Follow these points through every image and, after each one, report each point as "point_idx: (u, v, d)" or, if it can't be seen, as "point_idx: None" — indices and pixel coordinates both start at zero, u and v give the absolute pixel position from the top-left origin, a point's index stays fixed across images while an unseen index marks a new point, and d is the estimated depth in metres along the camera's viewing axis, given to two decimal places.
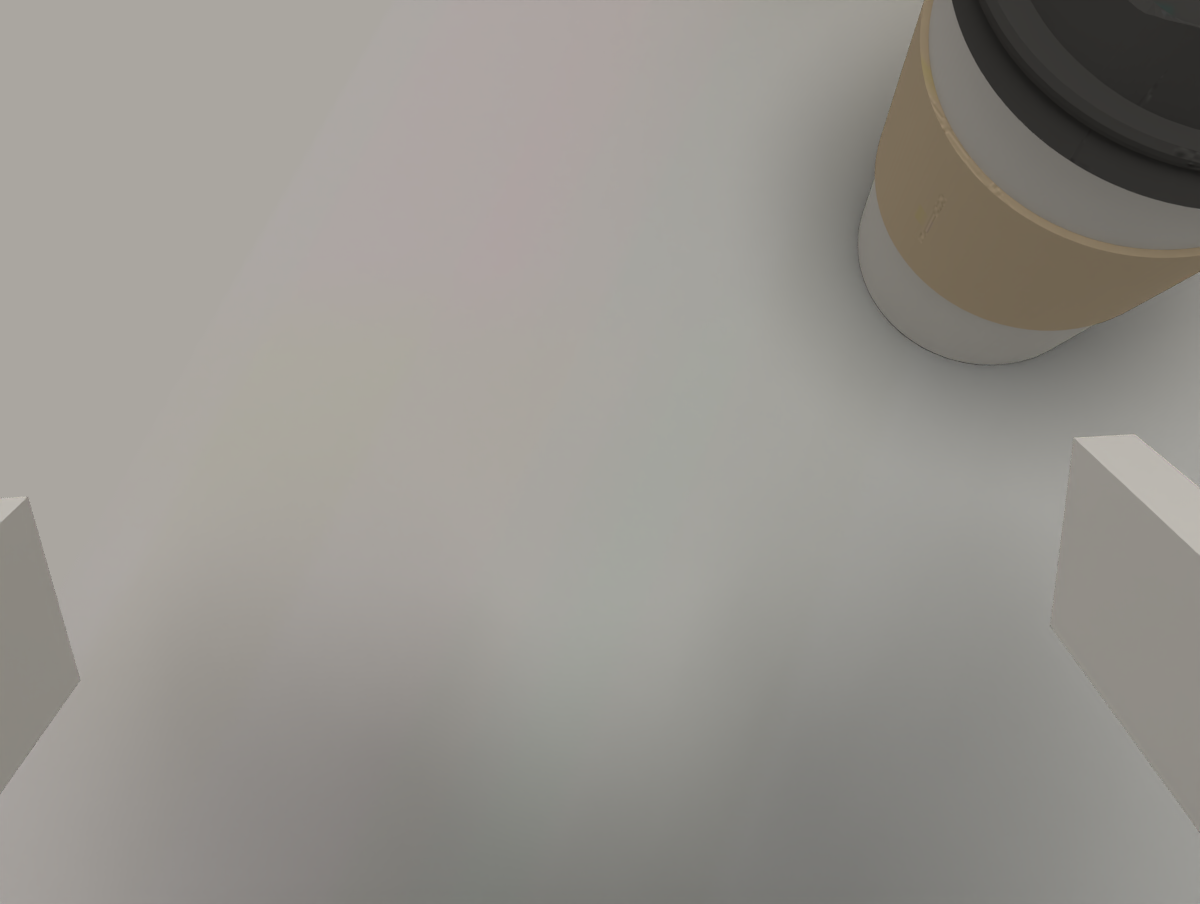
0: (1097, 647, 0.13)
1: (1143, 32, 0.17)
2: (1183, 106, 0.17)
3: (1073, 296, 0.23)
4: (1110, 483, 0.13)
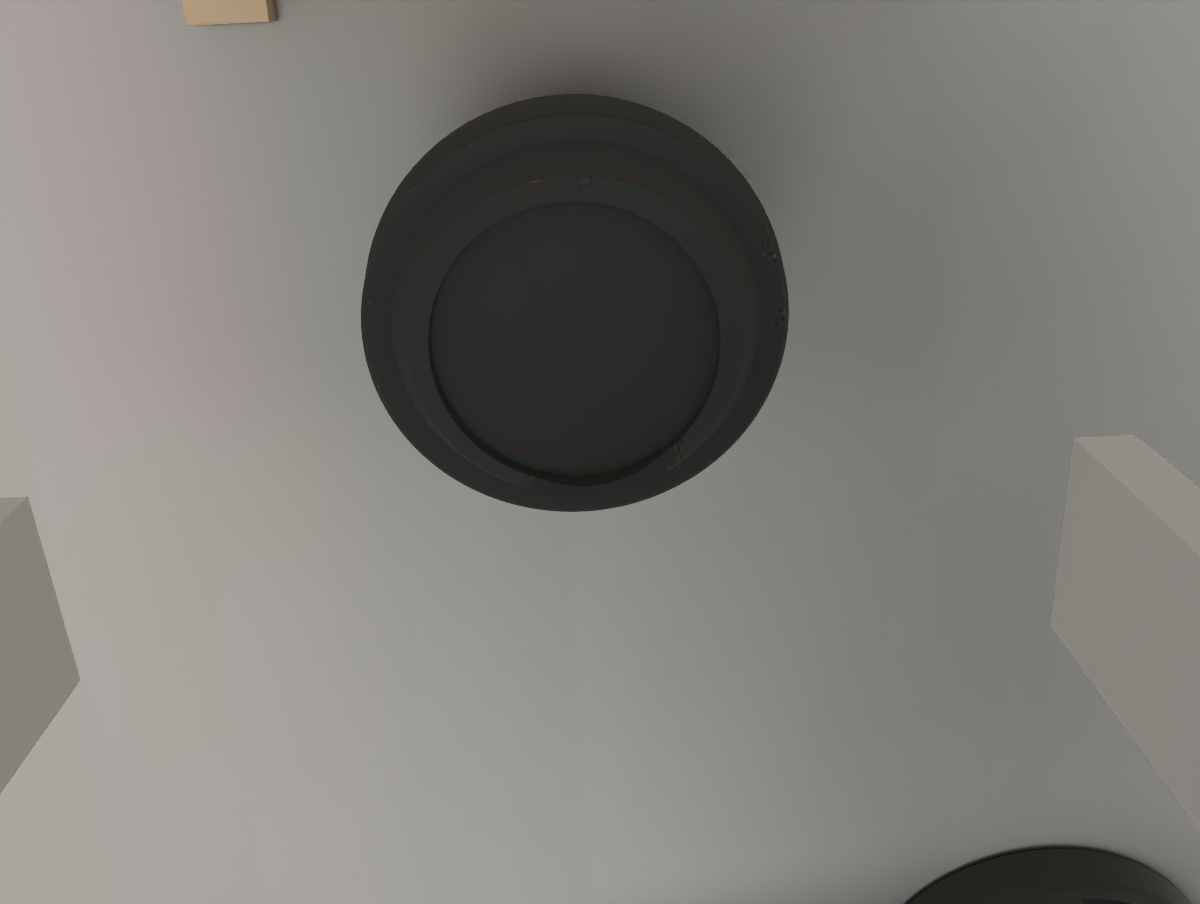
0: (1097, 648, 0.13)
1: None
2: None
3: None
4: (1110, 483, 0.13)
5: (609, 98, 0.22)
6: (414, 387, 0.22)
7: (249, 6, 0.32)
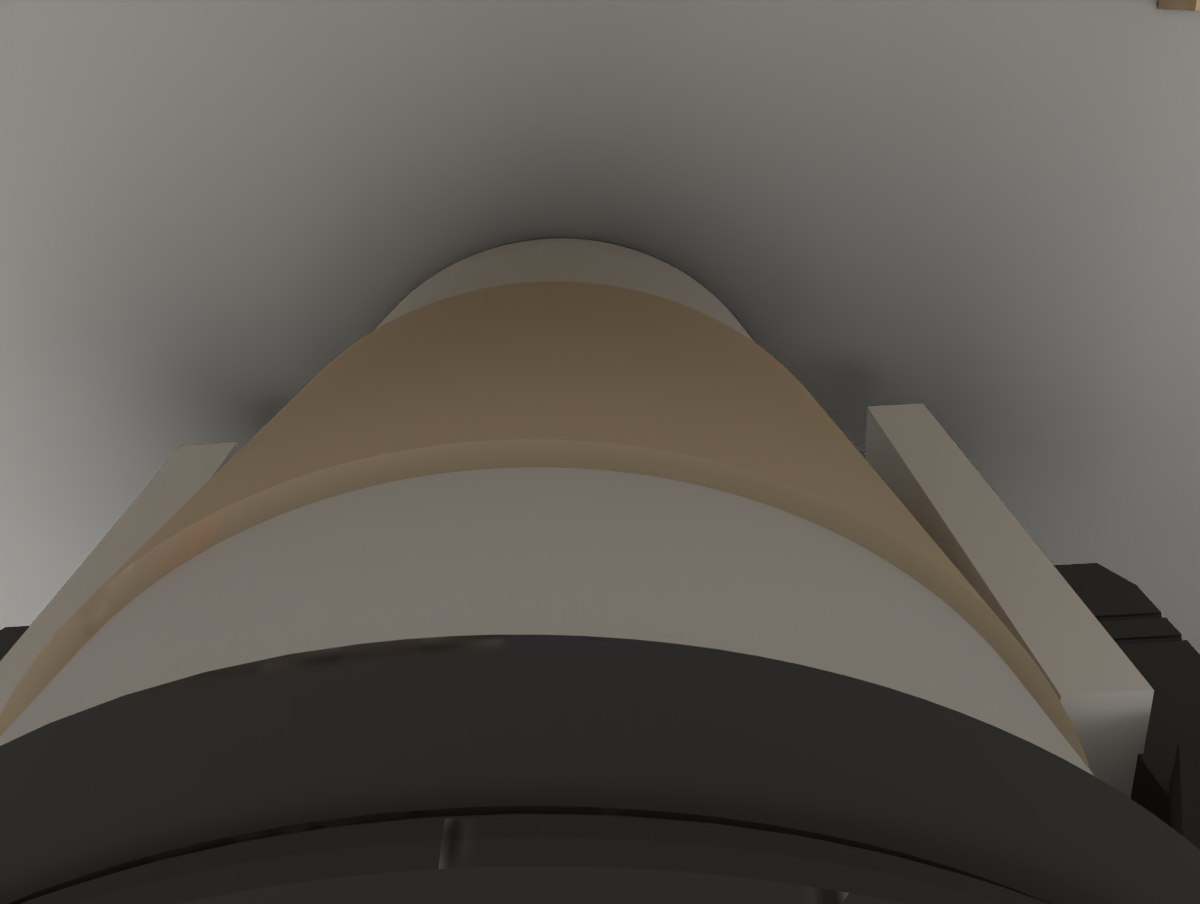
0: None
1: None
2: None
3: None
4: (887, 446, 0.14)
5: (678, 648, 0.04)
6: None
7: None
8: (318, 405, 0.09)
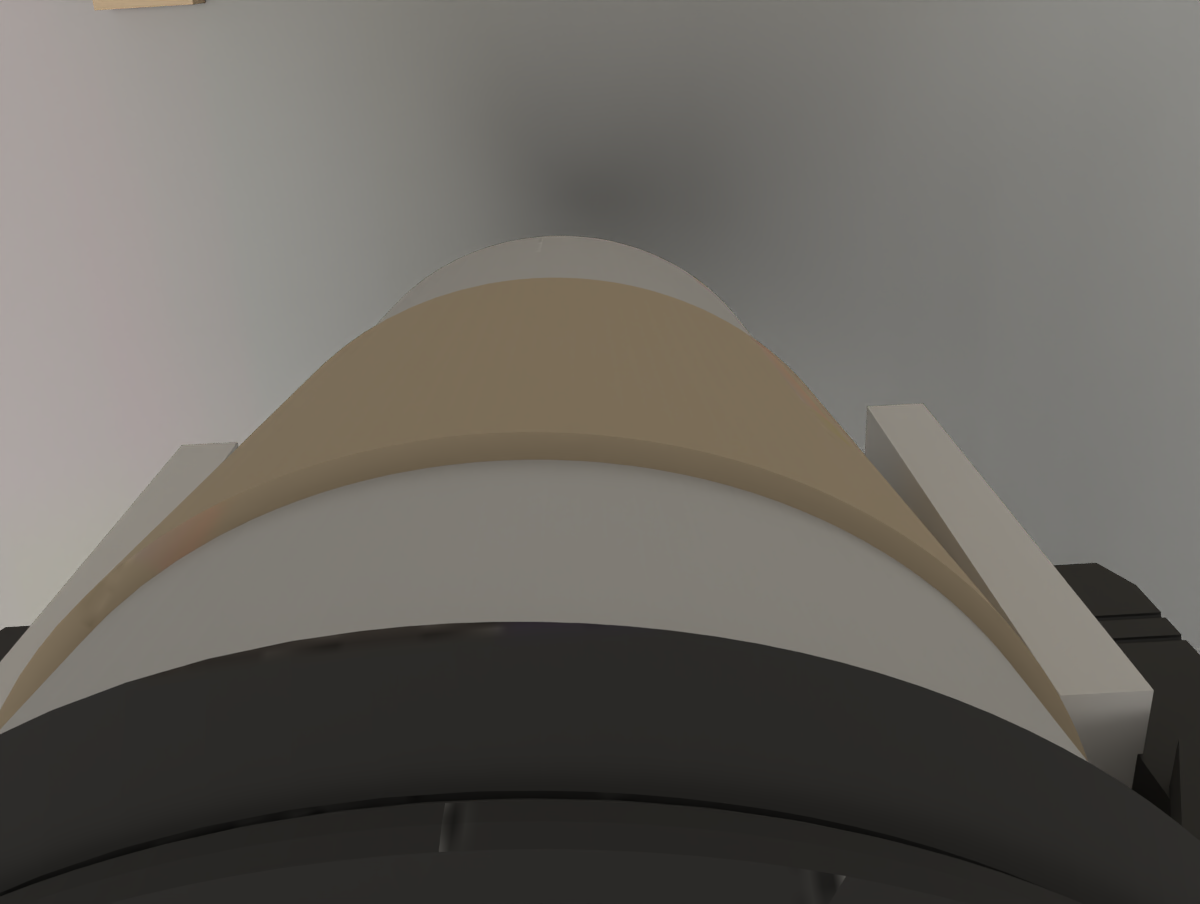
0: None
1: None
2: None
3: None
4: (887, 445, 0.14)
5: (677, 637, 0.04)
6: None
7: None
8: (318, 399, 0.09)
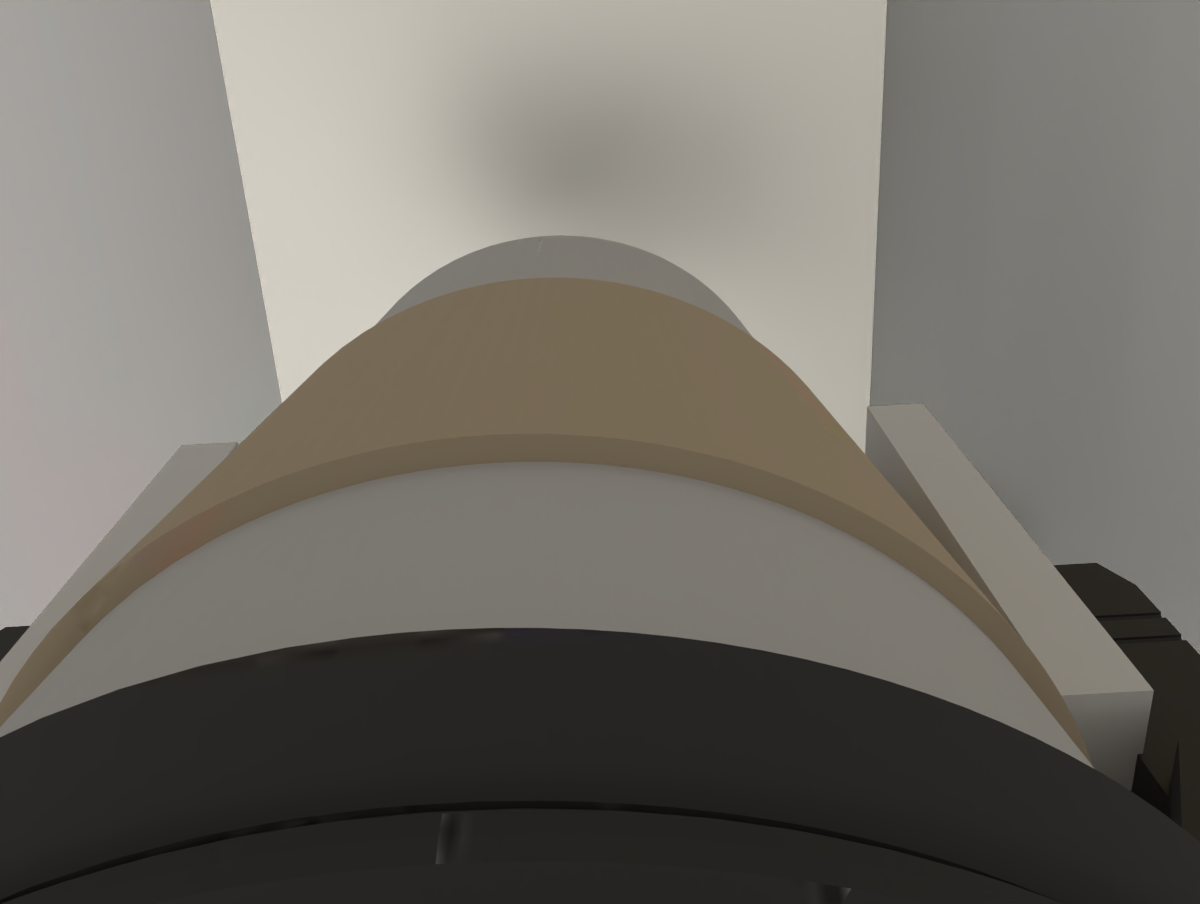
0: None
1: None
2: None
3: None
4: (887, 446, 0.14)
5: (678, 642, 0.04)
6: None
7: None
8: (316, 401, 0.09)
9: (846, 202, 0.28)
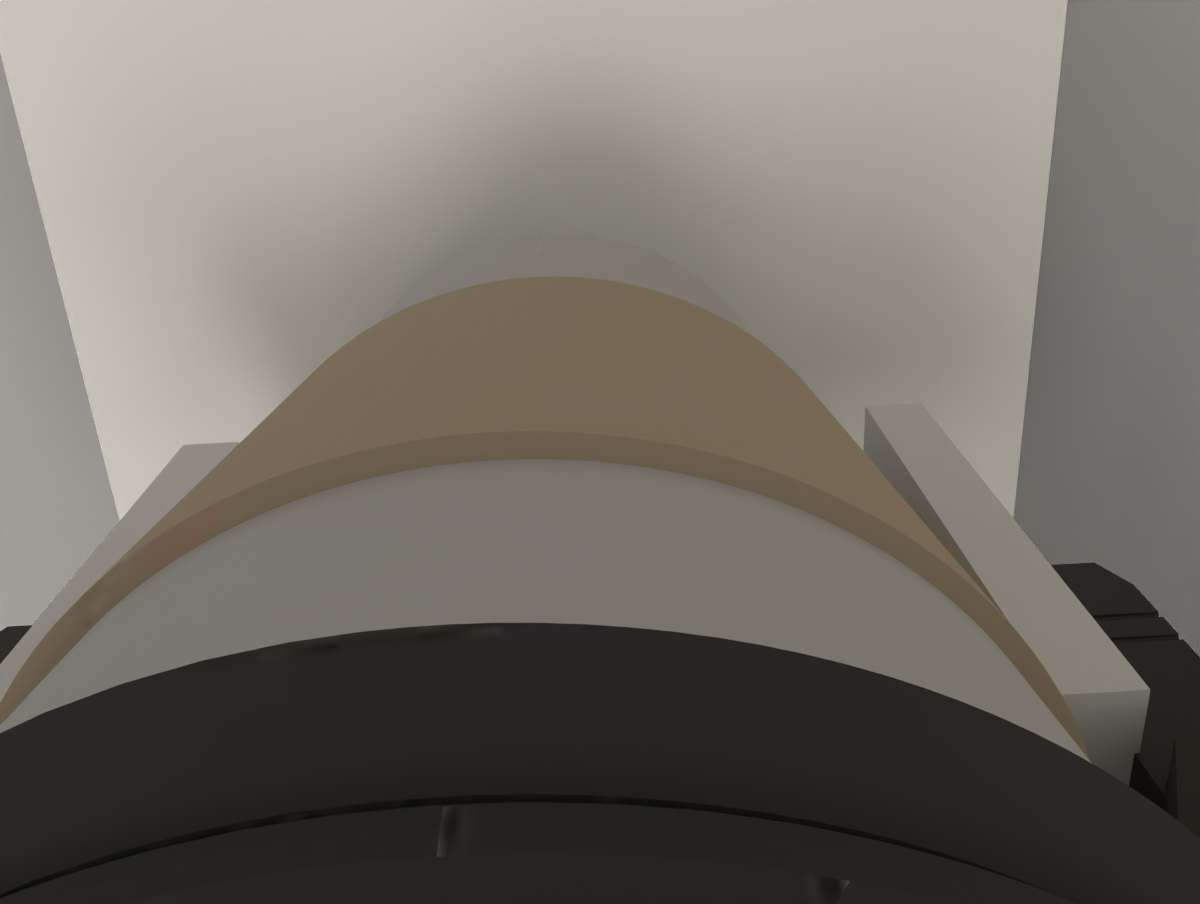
0: None
1: None
2: None
3: None
4: (885, 445, 0.14)
5: (678, 637, 0.04)
6: None
7: None
8: (317, 399, 0.09)
9: (986, 309, 0.18)
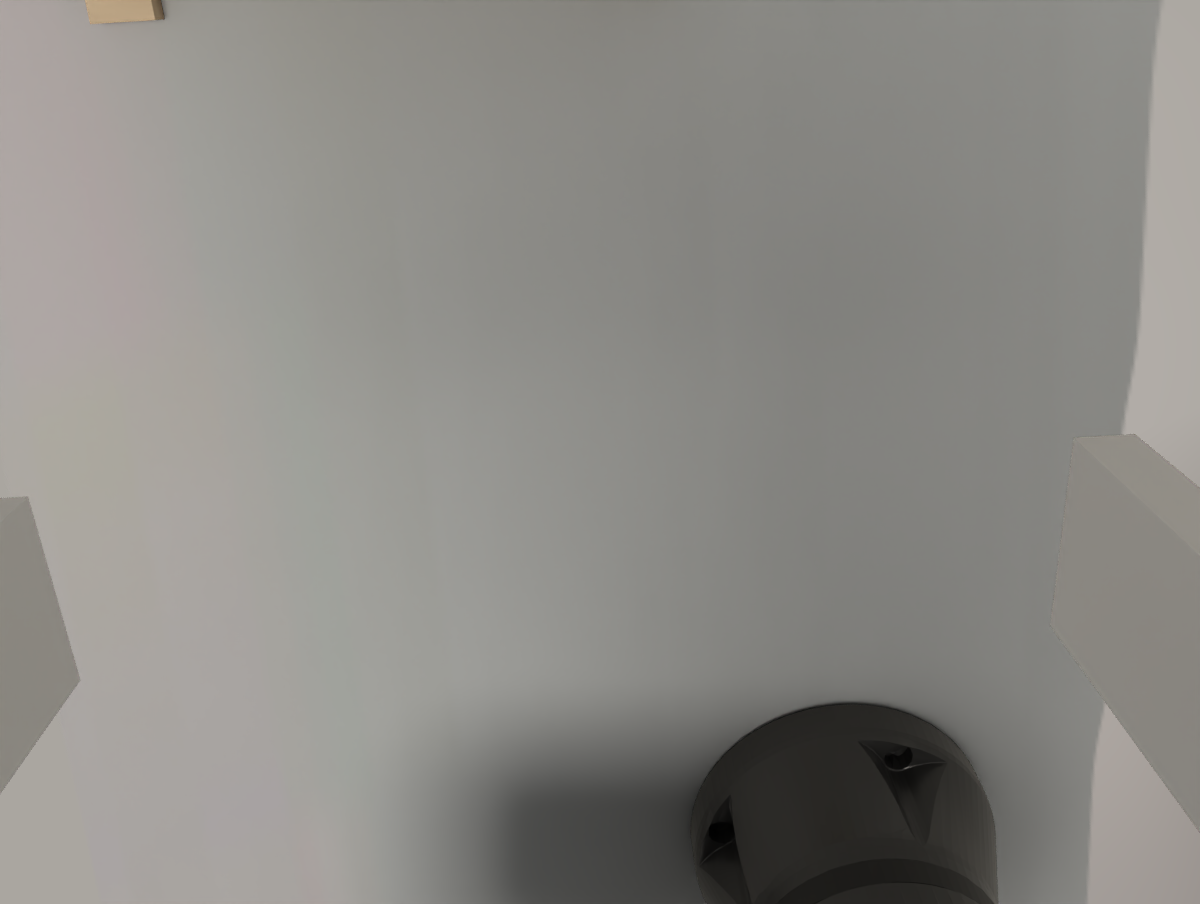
0: (1097, 647, 0.13)
1: None
2: None
3: None
4: (1110, 483, 0.13)
5: None
6: None
7: (139, 8, 0.41)
8: None
9: None
